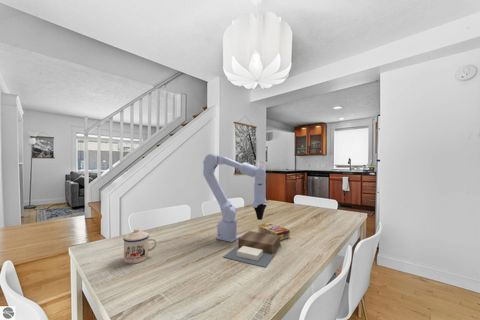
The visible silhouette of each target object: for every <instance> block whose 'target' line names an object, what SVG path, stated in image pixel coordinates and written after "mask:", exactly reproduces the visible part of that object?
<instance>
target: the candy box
mask: <svg viewBox="0 0 480 320" xmlns="http://www.w3.org/2000/svg"><path fill="white" fill-rule="evenodd" d="M257 227H258V232H259V233H265V234H271V235H277V236H280V241H283V240H286V239H289V238H291V237H290V235H291V234H290V232H291V231H290V229H287V228H285V227H283V226H281V225H277V224H274V223H272V222H268V223H262V224H258V226H257Z"/></svg>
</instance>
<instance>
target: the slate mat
mask: <svg viewBox="0 0 480 320" xmlns="http://www.w3.org/2000/svg"><path fill="white" fill-rule="evenodd" d="M239 249H240V248H239V247H238V246H235V247H233V249H231V250H230V251H228V252H227V253H226V254H225V255H223V256H222V258H223V259H228V260H233V261H237V262H240V263H245V264H249V265H252V266H256V267H261V268H267V266H268V265H269V263H270V262H271V261H272V260H273V259H274V257H275V254H273V255H272V254H268V253H263V255H262V256H261V258H260V259H259V260H258V261H256V260H251V259H247V258H243V257H238V256H237V251H238V250H239Z"/></svg>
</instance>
